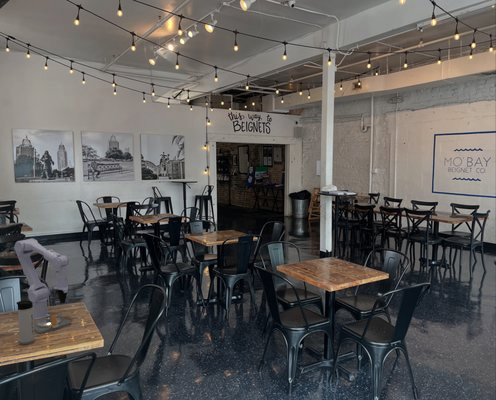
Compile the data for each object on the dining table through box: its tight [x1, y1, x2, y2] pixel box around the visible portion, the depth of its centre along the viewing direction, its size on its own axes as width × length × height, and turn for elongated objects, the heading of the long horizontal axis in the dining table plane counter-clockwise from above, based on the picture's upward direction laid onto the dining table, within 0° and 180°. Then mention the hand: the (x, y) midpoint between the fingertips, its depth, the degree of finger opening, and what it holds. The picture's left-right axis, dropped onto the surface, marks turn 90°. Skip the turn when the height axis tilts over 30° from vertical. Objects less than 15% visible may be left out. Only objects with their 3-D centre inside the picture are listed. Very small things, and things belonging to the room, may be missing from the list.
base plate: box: [34, 315, 72, 335], centre depth 206 cm, size 16×16×3 cm
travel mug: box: [16, 300, 36, 346], centre depth 185 cm, size 6×7×20 cm
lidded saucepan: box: [37, 315, 61, 328], centre depth 205 cm, size 14×11×5 cm
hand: (62, 302), depth 213 cm, fingers closed
